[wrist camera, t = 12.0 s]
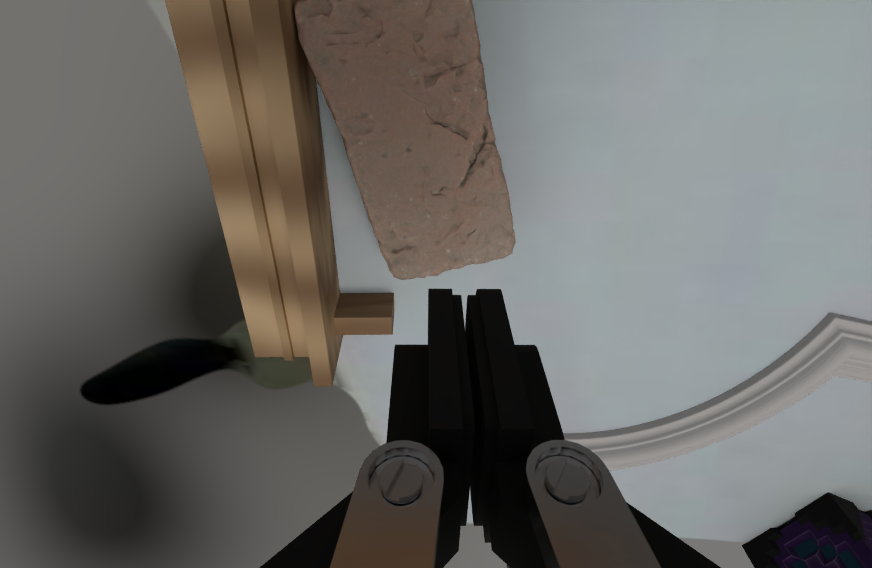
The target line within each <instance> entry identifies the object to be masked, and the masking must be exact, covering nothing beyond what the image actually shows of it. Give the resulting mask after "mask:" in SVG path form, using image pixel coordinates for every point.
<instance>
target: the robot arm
mask: <svg viewBox="0 0 872 568" xmlns="http://www.w3.org/2000/svg"><path fill="white" fill-rule="evenodd" d="M469 490H470V491H471V502H472V514H473V523H474V526H483V528H484V538H485V542H491V546H492V551H493V552H494V553H495V554H496V555H498V556H499V557H500V558H501V559H502V560H503V561H504V562H505V563H506V564H507V568H720V567H719V566H718V565H716V564H715V563H713V562H712V561H710V560H709V559H707V558H706V557H705V556H703V555H702V554H700V553H699V552H697V551H696V550H694V549H693V548H692V547H690V546H689V545H687V544H686V543H684V542H683V541H681V540H680V539H679V538H677V537H676V536H674V535H673V534H671V533H670V532H669V531H667V530H666V529H664V528H663V527H661V526H660V525H658V524H657V523H656V522H654V521H653V520H651V519H650V518H648V517H647V516H646V515H644V514H643V513H641V512H640V511H638V510H637V509H635V508H634V507H633V506H631V505H630V504H628V503H627V502H626V501H625V499H624V498H623V496H622V494H621V492H620V490H619V488H618V486H617V485H616V483H615V481H614V479H613V477H612V475H611V473H610V472H609V470H608V468H607V467H606V465H605V464H604V463H603V461H602V460H601V459H600V458H599V457H598V456H597V455H596V454H595V453H593V452H592V451H591V450H590V449H588V448H586V447H584V446H582V445H580V444H578V443H575V442H571V441H567V440H565V438H564V435H563V432H562V428H561V425H560V422H559V418H558V415H557V412H556V408H555V405H554V402H553V398H552V395H551V392H550V388H549V385H548V382H547V378H546V375H545V372H544V368H543V365H542V362H541V358H540V355H539V352H538V349H537V347H536V346H535V345H514V341H513V337H512V333H511V328H510V324H509V320H508V316H507V312H506V308H505V303H504V299H503V295H502V291H501V289H477V291H476V295H468V297H467V311H466V325H465V327H464V318H463V308H462V299H461V295H452V289H429V294H428V345H395V350H394V361H393V373H392V384H391V396H390V408H389V419H388V431H387V443H385V444H383V445H381V446H380V447H378V448H377V449H375V450H373V451H372V452H371V453H370V454H369V456H368V457H367V458H366V459H365V460H364V462H363V464H362V466H361V468H360V471H359V474H358V477H357V480H356V484H355V487H354V490H353V492H352V493H350V494H349V495H348V496H347V497H346V498H344V499H343V500H342V501H341V502H340V503H338V504H337V505H336V506H334V507H333V508H332V509H331V510H330V511H328V512H327V513H326V514H325V515H323V517H321V518H320V519H319V520H317V521H316V522H315V523H314V524H312V525H311V526H310V527H309V528H308V529H306V530H305V531H304V532H303V533H301V534H300V535H299V536H298V537H297V538H295V539H294V540H293V541H292V542H290V543H289V544H288V545H287V546H286V547H284V548H283V549H282V550H281V551H279V552H278V553H277V554H276V555H275V556H273V557H272V558H271V559H270V560H268V562H266V563H265V564H264V565H262V566H261V567H260V568H443V567H444V566H445V565H446V564H447V563H448V562H449V561H450V559H451V558H452V557H453V556H454V555H455V554H456V553H457V552H458V549H459V537H460V526H466V521H467V510H468V500H469Z"/></svg>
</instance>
